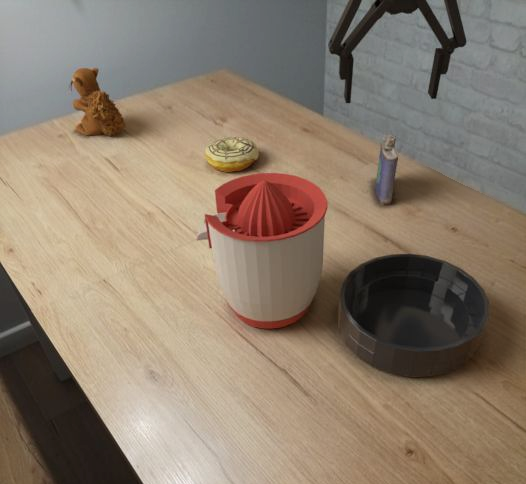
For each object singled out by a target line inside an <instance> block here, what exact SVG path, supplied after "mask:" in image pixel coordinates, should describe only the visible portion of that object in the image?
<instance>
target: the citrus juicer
mask: <svg viewBox="0 0 526 484" xmlns="http://www.w3.org/2000/svg"><path fill="white" fill-rule="evenodd" d="M214 195H215V205H216V213H214V214H207V213H206V214H205V213H204V220H203V223H202V225H201V228H200V229H199V231H198V233H197V236H196V241H205V240H207V242H208V248H209V250H210V249H211V252H212V258H213V265H214V270H215V273H216V274H215V275H216V279H217V282H218V284H219V287H220V289H221V292H222V294H223V296H224V298H225V300H226V302H227V305H228V306H229V308H230V309H231V310H232V312H233V313H234V314H235V316H236V317H237V318H238V319H239V320H240V321H242V322H244V323H245V324H247V325H249V326H252V327H255V328H258V329H259V328H260V329H278V328H279V329H280V328H283V327H286V326H289V325H292V324H294V323H296V322H297V321H299V320H300V319H302V317H303V316H305V314H306V313H307V312H308V310H309V308H310V307H311V305H312V303H313V302H314V299H315V296H316V293H317V290H318V288H319V284H320V281H321V276H322V273H323V264H324V247H325V246H324V244H325V242H324V241H325V225H326V224H325V221H326V220H325V219H326V217H325V216H326V213H327V211H328V199H327V197H326V194H325V193H324V191H323V190H322V189H321V188H320V187H319V186H317V184H315V183H314V182H312V181H310V180H308V179H306V178H304V177H300V176H297V175H293V174H290V173H289V174H288V173H282V172H281V173H279V172H261V173H252V174H248V175H243V176H239V177H237V178H233V179H231V180H229V181H226V182H224V183H223V184H221V185H220V186H218V187H217V188H216V189H214Z"/></svg>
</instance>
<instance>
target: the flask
mask: <svg viewBox="0 0 526 484" xmlns="http://www.w3.org/2000/svg"><path fill="white" fill-rule="evenodd" d="M396 140H397V138H396V136H394V135H391V134H385V135H383V137H382V139H381V142H380V147H379V148H380V149H379V150H380V151H379V156H378V163H377V172H376V178H375V183H374V193H375V197H376V201H378V203H379V204H380V205H382V206H383V205H390V204H391V203H392V200H393V193H394V187H395V178H396V173H397V168H398V167H397V166H398V161H399V154H398V153H397V150H396V145H395V144H396Z"/></svg>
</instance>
